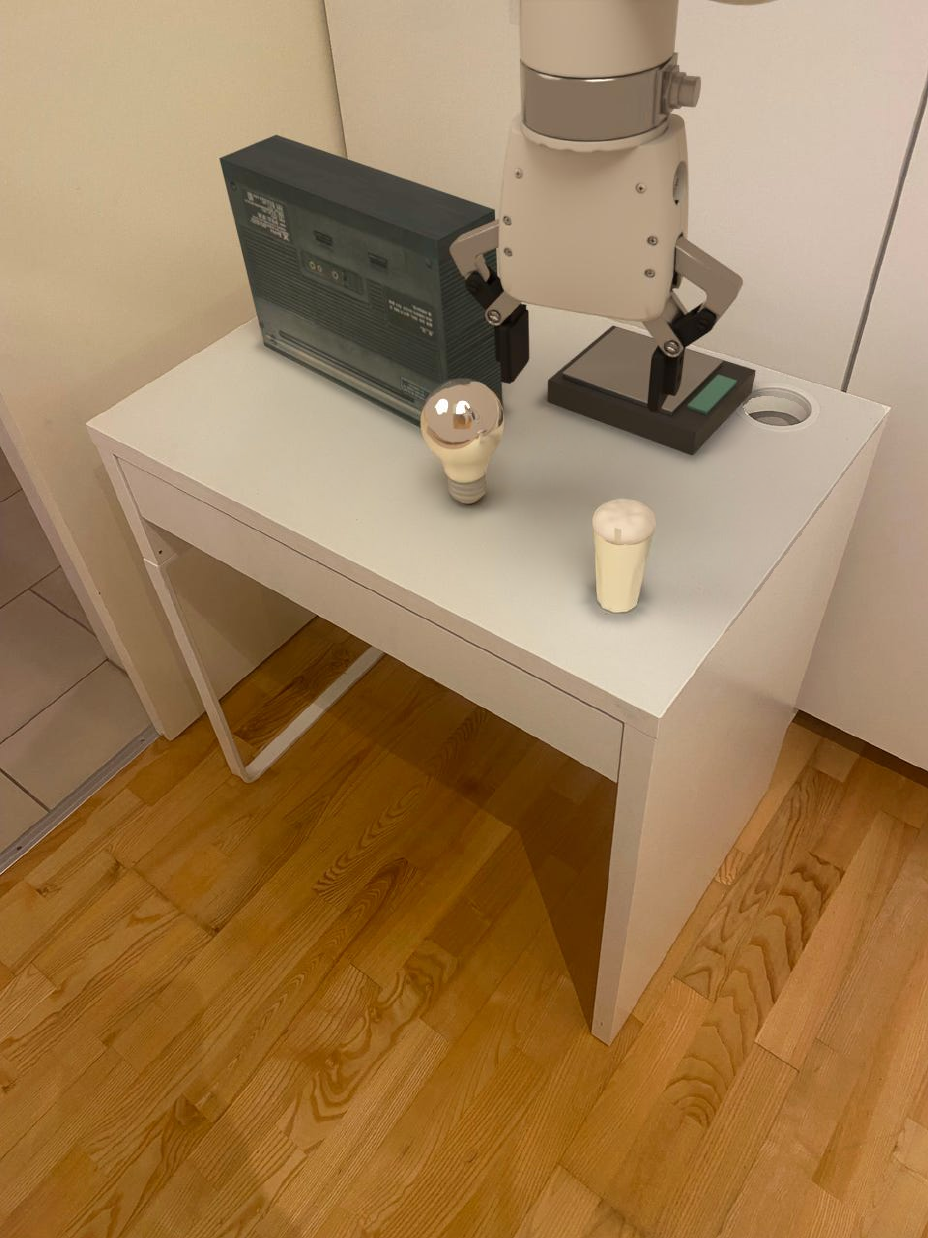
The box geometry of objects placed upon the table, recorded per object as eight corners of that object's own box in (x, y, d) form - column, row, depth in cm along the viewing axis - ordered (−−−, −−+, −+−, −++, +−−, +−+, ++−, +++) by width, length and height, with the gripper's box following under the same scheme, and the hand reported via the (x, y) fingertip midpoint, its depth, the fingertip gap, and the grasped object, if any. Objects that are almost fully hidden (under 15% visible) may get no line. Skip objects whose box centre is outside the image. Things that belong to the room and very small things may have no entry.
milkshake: (581, 621, 74) (584, 524, 67) (595, 574, 78) (600, 477, 70) (639, 631, 73) (650, 533, 66) (651, 583, 77) (662, 485, 69)
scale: (752, 392, 94) (757, 364, 91) (692, 455, 87) (696, 427, 85) (611, 346, 101) (613, 319, 99) (547, 401, 95) (547, 374, 92)
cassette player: (502, 411, 94) (494, 209, 80) (454, 444, 91) (436, 240, 76) (312, 319, 109) (276, 134, 94) (264, 345, 106) (219, 158, 91)
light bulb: (457, 537, 82) (446, 420, 73) (415, 496, 86) (400, 380, 77) (523, 504, 84) (520, 387, 75) (479, 466, 88) (471, 351, 80)
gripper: (785, 82, 48) (736, 379, 60) (470, 57, 53) (485, 334, 66) (749, 139, 43) (704, 448, 56) (409, 105, 49) (437, 392, 61)
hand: (585, 386), depth 61 cm, fingers open, 9 cm apart
